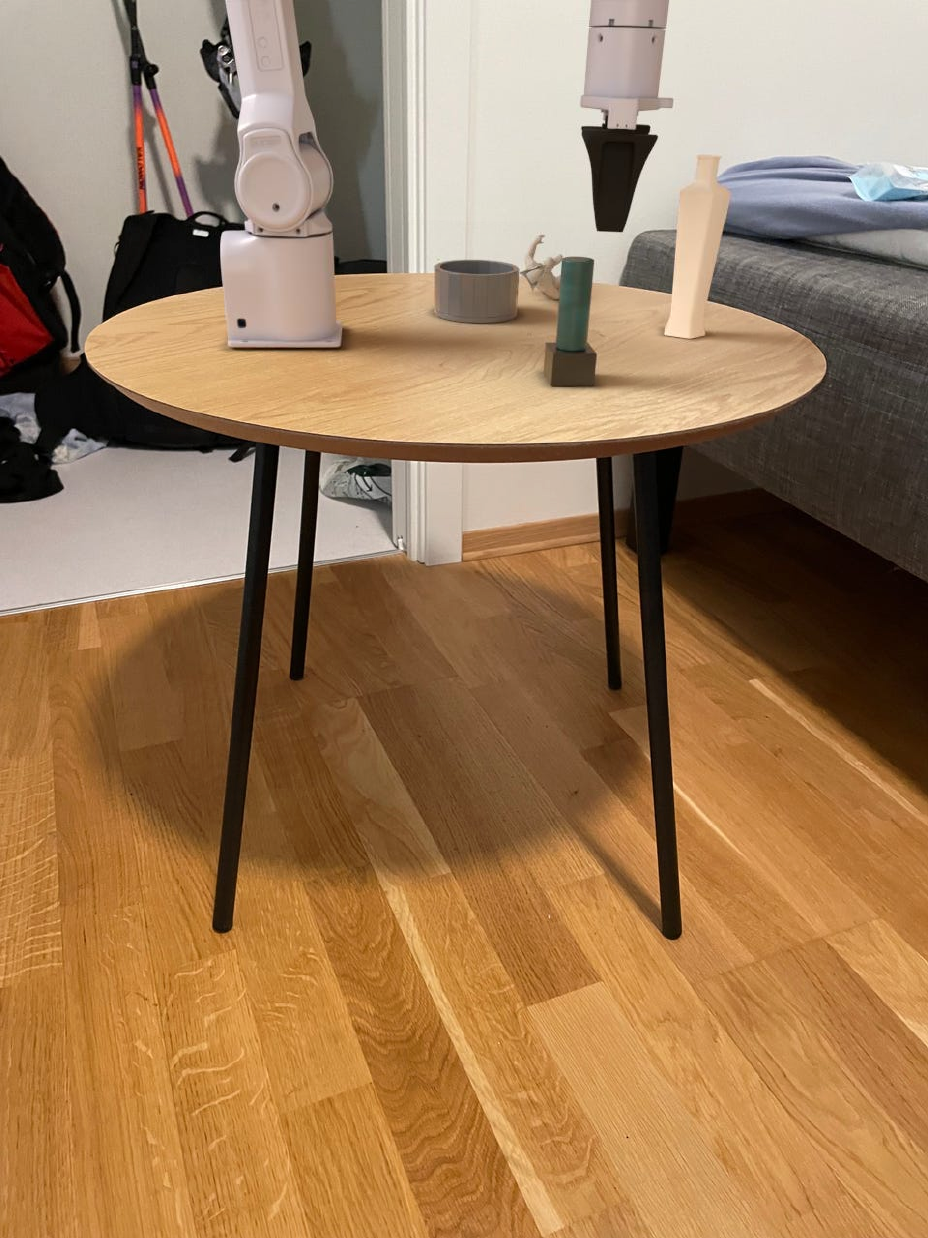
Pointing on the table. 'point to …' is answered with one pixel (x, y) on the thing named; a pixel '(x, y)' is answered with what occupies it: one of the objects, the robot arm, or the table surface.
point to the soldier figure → (542, 271)
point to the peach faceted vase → (696, 247)
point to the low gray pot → (476, 291)
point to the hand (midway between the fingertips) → (608, 224)
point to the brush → (572, 328)
